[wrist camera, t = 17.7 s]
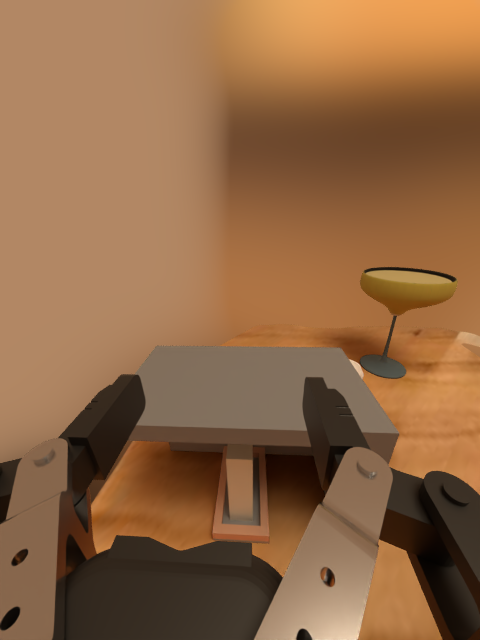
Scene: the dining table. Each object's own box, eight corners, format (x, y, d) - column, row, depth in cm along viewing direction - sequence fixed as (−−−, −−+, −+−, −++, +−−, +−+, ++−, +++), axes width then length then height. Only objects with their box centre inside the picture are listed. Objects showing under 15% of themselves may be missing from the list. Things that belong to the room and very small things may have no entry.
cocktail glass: (399, 349, 70) (423, 266, 60) (441, 390, 53) (484, 284, 43) (337, 348, 72) (351, 267, 62) (359, 386, 55) (383, 284, 45)
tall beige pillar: (252, 521, 30) (252, 459, 26) (230, 520, 31) (226, 459, 26) (252, 462, 38) (252, 406, 33) (234, 462, 38) (231, 406, 33)
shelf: (357, 554, 28) (399, 433, 20) (138, 540, 29) (96, 424, 21) (323, 445, 41) (340, 347, 33) (174, 440, 42) (156, 345, 35)
